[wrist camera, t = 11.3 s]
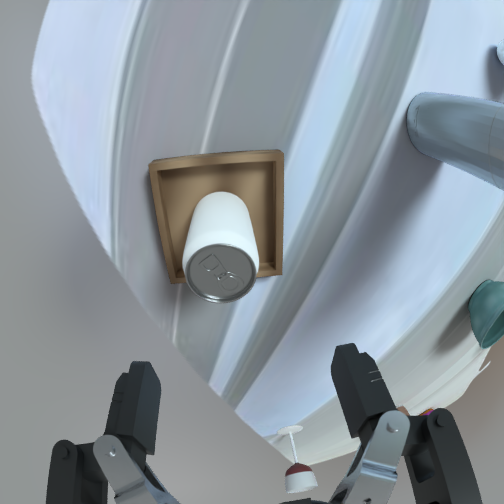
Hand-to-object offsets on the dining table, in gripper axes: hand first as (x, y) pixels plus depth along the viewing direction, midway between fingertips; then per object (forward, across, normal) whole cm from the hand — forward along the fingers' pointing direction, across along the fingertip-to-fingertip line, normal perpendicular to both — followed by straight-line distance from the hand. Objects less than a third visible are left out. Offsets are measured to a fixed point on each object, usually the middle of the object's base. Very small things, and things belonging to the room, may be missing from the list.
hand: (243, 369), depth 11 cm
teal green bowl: (+24, -57, +26) cm, 67 cm away
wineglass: (+24, -10, +68) cm, 73 cm away
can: (+23, +1, +2) cm, 23 cm away
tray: (+23, +1, +2) cm, 23 cm away
